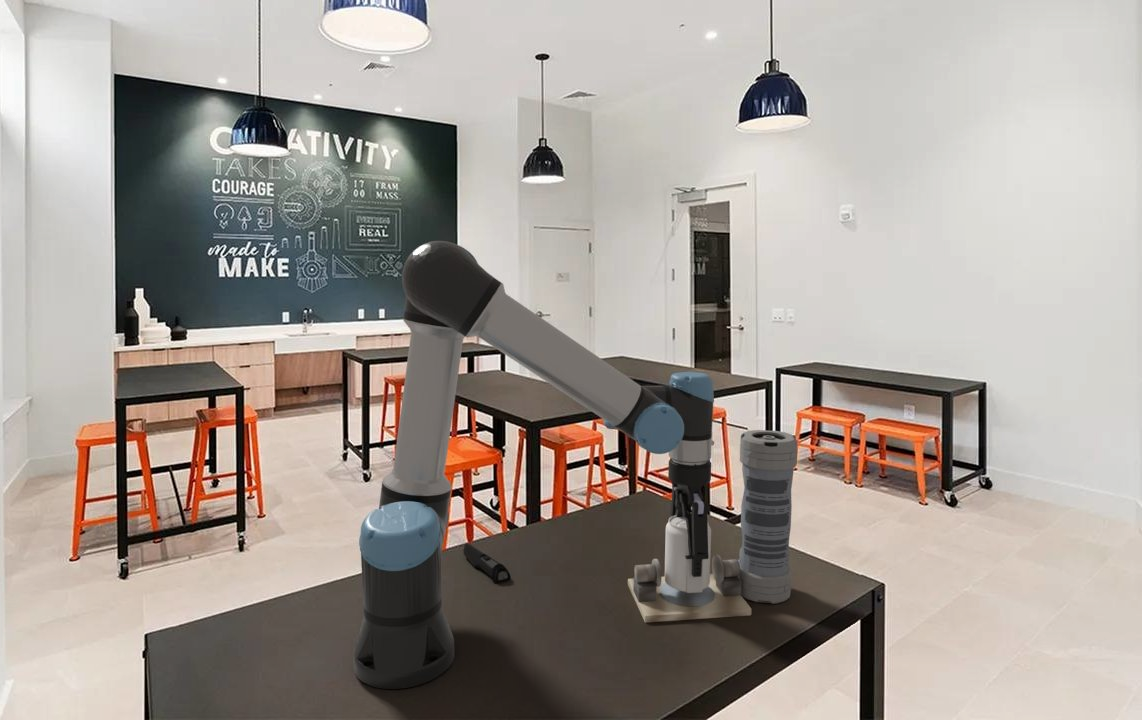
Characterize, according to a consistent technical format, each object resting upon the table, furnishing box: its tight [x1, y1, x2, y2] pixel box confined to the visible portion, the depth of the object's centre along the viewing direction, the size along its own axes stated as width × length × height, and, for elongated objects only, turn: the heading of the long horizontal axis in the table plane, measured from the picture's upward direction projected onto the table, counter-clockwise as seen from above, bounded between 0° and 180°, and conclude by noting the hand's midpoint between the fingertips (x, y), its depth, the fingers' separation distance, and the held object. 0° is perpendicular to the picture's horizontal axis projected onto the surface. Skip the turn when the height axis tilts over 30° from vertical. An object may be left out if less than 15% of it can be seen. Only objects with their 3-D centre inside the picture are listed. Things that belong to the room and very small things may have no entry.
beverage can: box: [664, 515, 712, 592], centre depth 121 cm, size 8×8×12 cm
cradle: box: [627, 554, 752, 624], centre depth 122 cm, size 19×14×8 cm
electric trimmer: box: [462, 543, 511, 585], centre depth 135 cm, size 4×16×3 cm, turn 35°
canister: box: [737, 429, 799, 605], centre depth 123 cm, size 10×10×30 cm
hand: (686, 580), depth 122 cm, fingers closed on beverage can, 8 cm apart
